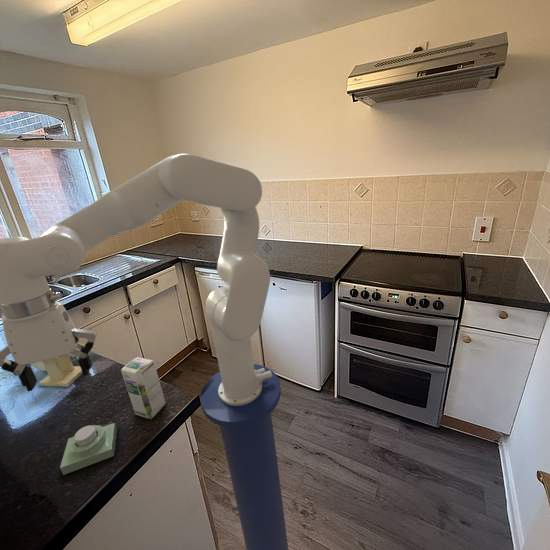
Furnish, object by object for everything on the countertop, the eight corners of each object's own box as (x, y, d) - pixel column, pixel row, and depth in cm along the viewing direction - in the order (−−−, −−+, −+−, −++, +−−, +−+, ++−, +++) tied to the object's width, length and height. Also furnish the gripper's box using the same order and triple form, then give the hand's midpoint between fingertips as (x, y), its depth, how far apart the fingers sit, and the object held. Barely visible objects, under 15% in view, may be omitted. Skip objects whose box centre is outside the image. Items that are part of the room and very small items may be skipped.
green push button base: (117, 429, 74) (112, 417, 73) (114, 456, 67) (109, 443, 66) (71, 445, 71) (65, 432, 69) (63, 475, 64) (56, 462, 62)
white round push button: (98, 429, 70) (95, 422, 69) (95, 442, 67) (92, 436, 66) (79, 435, 69) (76, 429, 68) (75, 450, 65) (72, 443, 65)
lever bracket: (87, 369, 98) (75, 339, 94) (67, 386, 91) (53, 354, 87) (61, 368, 100) (48, 338, 96) (40, 385, 93) (25, 354, 88)
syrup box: (134, 415, 78) (118, 370, 73) (150, 398, 83) (137, 355, 78) (151, 420, 76) (136, 374, 70) (167, 403, 81) (154, 359, 75)
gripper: (85, 287, 61) (109, 356, 67) (-19, 307, 56) (17, 381, 62) (78, 301, 55) (105, 376, 61) (-41, 326, 49) (1, 406, 55)
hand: (60, 378), depth 61 cm, fingers open, 9 cm apart
